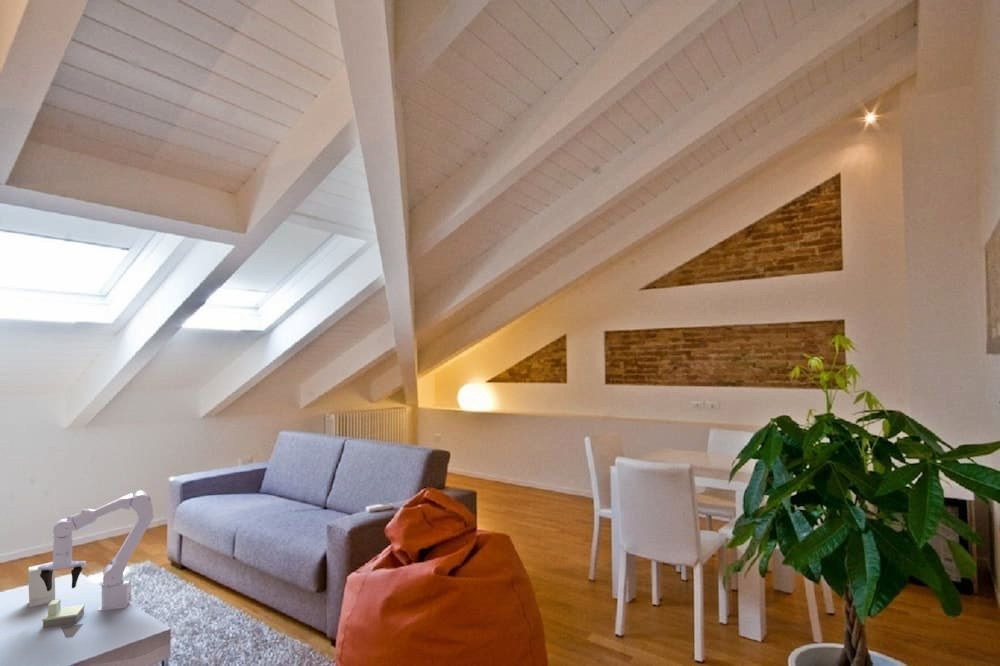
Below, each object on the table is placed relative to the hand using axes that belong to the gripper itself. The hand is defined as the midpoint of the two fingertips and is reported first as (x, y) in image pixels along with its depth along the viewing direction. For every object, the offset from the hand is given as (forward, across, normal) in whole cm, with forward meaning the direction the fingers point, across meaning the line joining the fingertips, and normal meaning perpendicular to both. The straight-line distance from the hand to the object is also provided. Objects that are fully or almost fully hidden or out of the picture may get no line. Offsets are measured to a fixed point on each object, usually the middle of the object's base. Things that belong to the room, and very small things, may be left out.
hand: (61, 588), depth 212 cm
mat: (+10, -4, +15) cm, 19 cm away
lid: (+7, -2, +5) cm, 9 cm away
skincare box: (+11, +12, -16) cm, 23 cm away
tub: (+10, -2, +5) cm, 12 cm away
